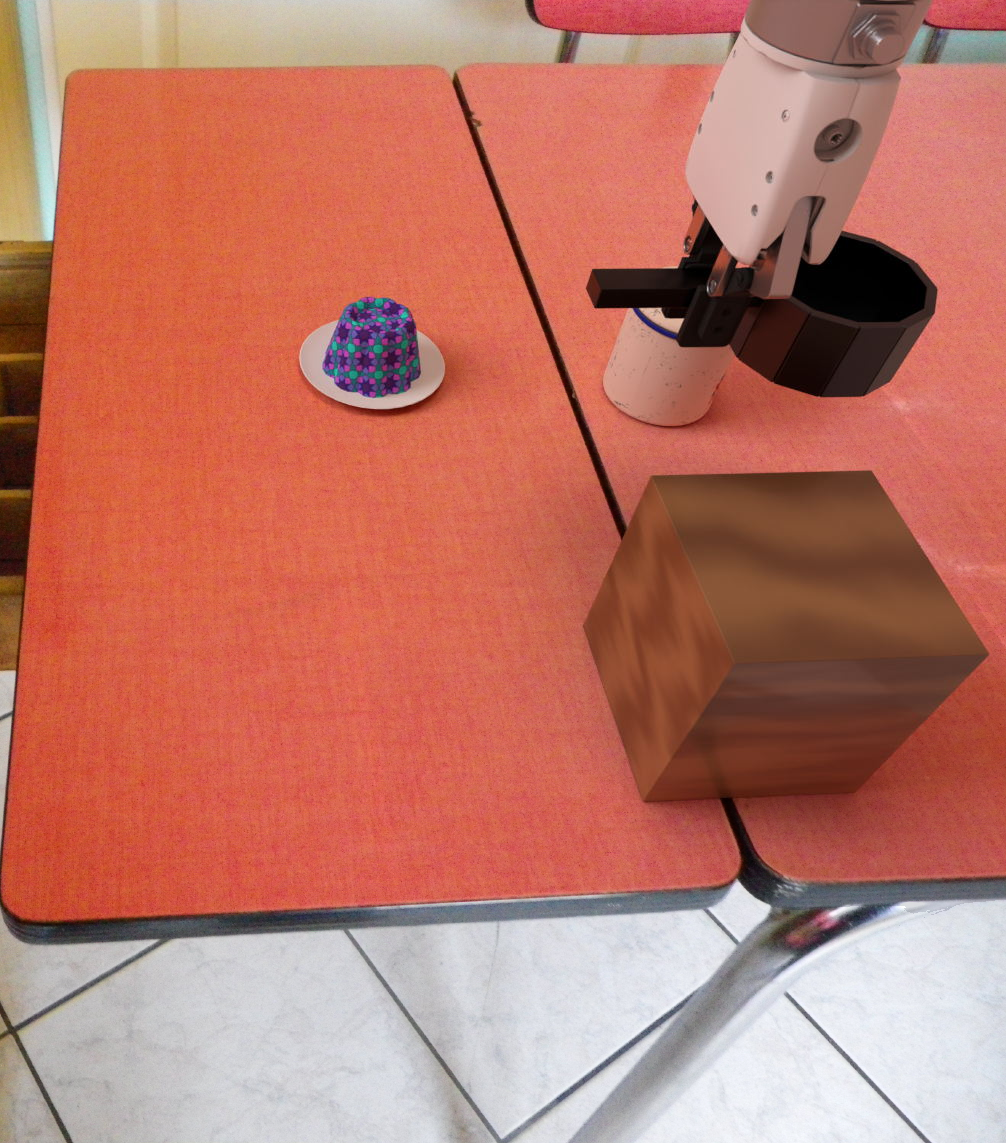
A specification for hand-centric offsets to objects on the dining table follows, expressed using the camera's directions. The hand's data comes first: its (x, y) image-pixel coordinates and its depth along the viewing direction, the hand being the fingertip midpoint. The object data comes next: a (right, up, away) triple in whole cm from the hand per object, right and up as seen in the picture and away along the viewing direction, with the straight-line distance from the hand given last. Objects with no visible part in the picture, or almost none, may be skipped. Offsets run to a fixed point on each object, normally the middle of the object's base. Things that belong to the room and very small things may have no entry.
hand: (694, 327), depth 63 cm
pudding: (-17, +2, +23) cm, 29 cm away
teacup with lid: (+6, +1, +23) cm, 24 cm away
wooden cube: (+2, -23, +3) cm, 23 cm away
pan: (+3, -1, +1) cm, 3 cm away
